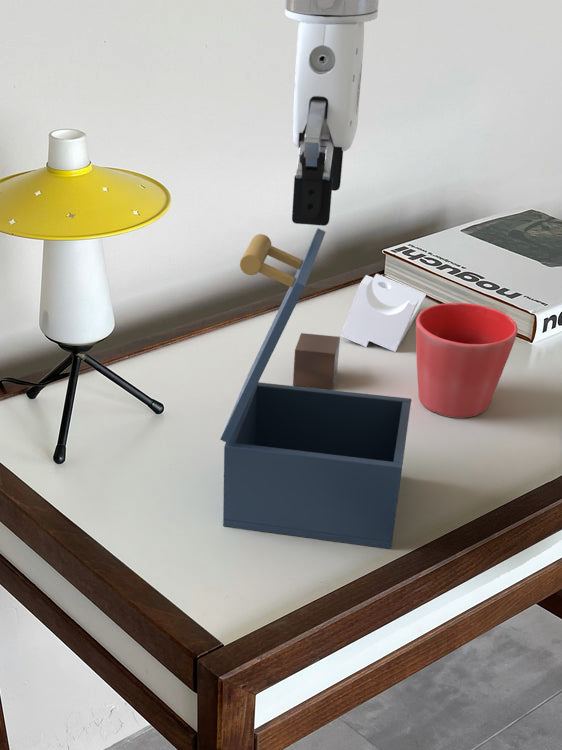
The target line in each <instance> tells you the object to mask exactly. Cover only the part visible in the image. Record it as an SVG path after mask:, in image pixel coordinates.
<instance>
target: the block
mask: <svg viewBox="0 0 562 750" xmlns="http://www.w3.org/2000/svg"><path fill="white" fill-rule="evenodd" d="M340 343H341V336H336V335H327V334H326V335H324V334H314V333H306V332H305V333H303V332H301V333H300V336H299V337H298V340H297V343H296V345H295V348H294V357H293V358H294V360H293V376H292V386H298V387H307V388H316V389H326V390H333V389H334V386H335V381H336V377H337V373H338V366H339V355H340V354H339V353H340Z"/></svg>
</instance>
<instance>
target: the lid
mask: <svg viewBox="0 0 562 750" xmlns="http://www.w3.org/2000/svg"><path fill="white" fill-rule="evenodd" d="M325 235H326V231H325V230H323V229H321V228H316V230H315V233H314V235H313V237H312V238H311V241H310V243H309V245H308V247H307V249H306V251H305V254H304V256H303V257H302V259H301V258H299V257H297V256H295V255H292V254H290V253H288V252H286V251H284V250H282V249H279V248H278V247H275V246H273V245H272V241H271V239H270V237H269V236H267V235H266V234H263V233H259V234H256V235H254V236H253V237H252V238H251V241H250V243H249V244H248V246H247V248H246V250H245V252H244V253H243V255H242V257H241V258H240V260H239V268H240V270H241V271H242V272H243V273H244V274H245V275H247V276H255V275H257V274H258V273H259V274H262V275H263V276H265V277H267V278H270V279H272V280H274V281H276V282H279V283H280V284H283V285H285V286H287V287H288V289H287V291H286V294H285V296H284V298H283V300H282V302H281V303H280V306H279V308H278V311H276V312H277V313H276V315H275V316H274V318H273V321H272V322H271V325H270V327H269V329H268V331H267V334H266V336H265V338H264V340H263V342H262V344H261V346H260V348H259V351H258V353H257V354H256V356H255V359H254V361H253V363H252V364H251V367H250V369H249V372H248V373H247V376H246V377H245V380H244V382H243V385H242V387H241V390H240V392H239V394H238V397H237V399H236V401H235V404H234V406H233V408H232V411H231V413H230V415H229V417H228V420H227V423H226V425H225V428H224V430H223V432H222V435H221V436H220V441H222V442H224V443H225V444H226V443H229V441H230V439H231V437H232V435H233V433H234V431H235V429H236V427H237V425H238V423H239V421H240V419H241V416H242V414H243V412H244V410H245V408H246V406H247V404H248V402H249V400H250V398H251V396H252V394H253V392H254V390H255V388H256V386H257V384H258V382H260V379H261V377H262V376H263V373H264V372H265V369H266V367H267V365H268V363H269V361H270V359H271V356H272V355H273V353H274V351H275V349H276V347H277V345H278V343H279V340H280V339H281V337H282V334H283V333H284V331H285V329H286V326H287V324H288V322H289V320H290V318H291V316H292V314H293V312H294V309H295V308H296V306H297V304H298V301H299V300H300V298H301V295H302V293H303V292H304V289H305V288H306V285H307V282H308V280H309V277H310V274H311V271H312V269H313V267H314V264H315V261H316V259H317V256H318V253H319V251H320V248H321V246H322V243H323V240H324V238H325ZM267 257H271V258H273V259H275V260H277V261H278V262H279V261H280V262H281V263H282V264H283V263H284V264H286V265H288V266H289V267H292V268H294V269H296V270H297V271H296V272H295V275H294V276H293V275H291V274H288V273H286V272H284V271H282V270H280V269H278V268H276V267H274V266H271V265H270V264H268V263H265V262H266V259H267Z"/></svg>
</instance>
